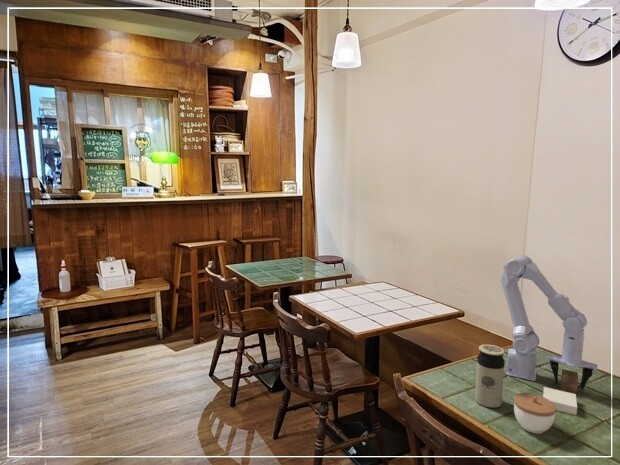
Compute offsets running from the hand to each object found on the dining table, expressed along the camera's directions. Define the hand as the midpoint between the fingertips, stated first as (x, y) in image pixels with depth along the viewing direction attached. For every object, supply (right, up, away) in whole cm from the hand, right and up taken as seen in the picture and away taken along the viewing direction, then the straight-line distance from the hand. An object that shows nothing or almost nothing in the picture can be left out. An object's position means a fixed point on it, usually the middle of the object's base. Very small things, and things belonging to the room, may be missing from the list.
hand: (568, 385), depth 140 cm
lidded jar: (-24, -4, -21) cm, 33 cm away
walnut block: (0, -2, 0) cm, 2 cm away
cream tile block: (-9, -3, -9) cm, 13 cm away
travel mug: (-31, -2, -8) cm, 33 cm away
